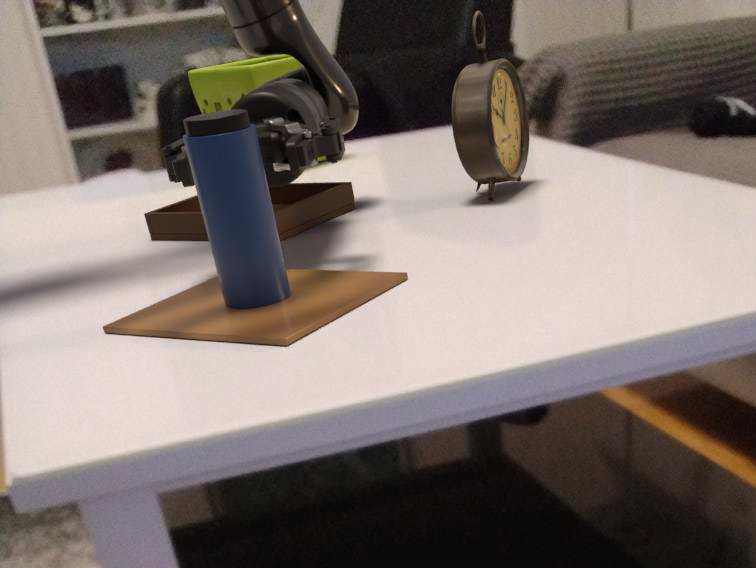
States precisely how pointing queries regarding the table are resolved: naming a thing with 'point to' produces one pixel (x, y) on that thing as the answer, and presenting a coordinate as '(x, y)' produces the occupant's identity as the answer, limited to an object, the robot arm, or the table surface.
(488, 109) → the alarm clock
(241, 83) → the flower pot
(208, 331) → the wooden board
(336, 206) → the tray
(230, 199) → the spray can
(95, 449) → the table surface
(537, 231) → the table surface
